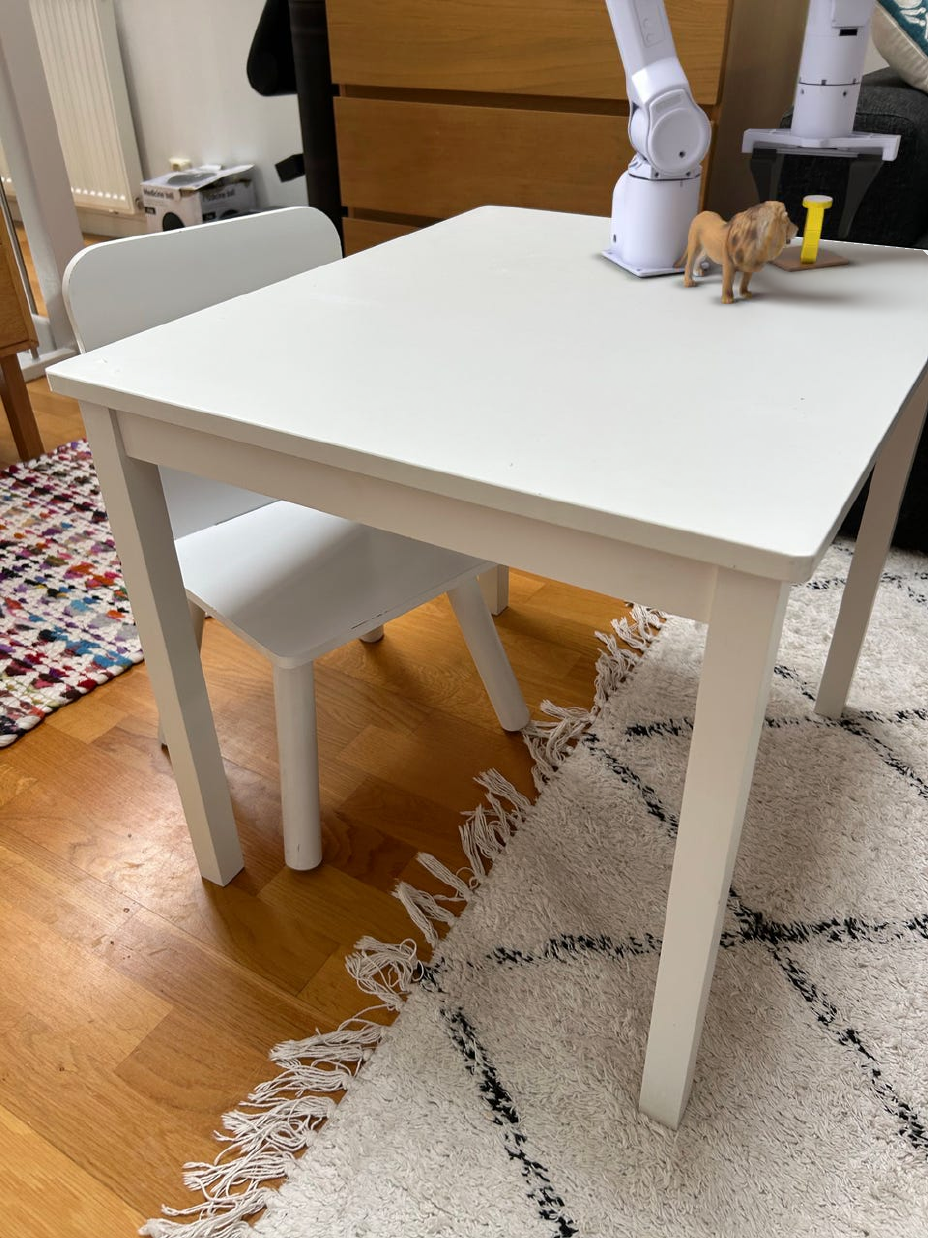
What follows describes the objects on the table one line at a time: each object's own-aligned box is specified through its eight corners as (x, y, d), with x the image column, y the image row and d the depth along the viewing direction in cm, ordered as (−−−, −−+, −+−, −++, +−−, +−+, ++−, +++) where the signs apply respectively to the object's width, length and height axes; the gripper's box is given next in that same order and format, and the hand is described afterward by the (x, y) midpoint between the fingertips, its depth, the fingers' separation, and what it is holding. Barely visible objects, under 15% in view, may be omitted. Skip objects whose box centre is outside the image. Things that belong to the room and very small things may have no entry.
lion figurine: (794, 305, 89) (812, 201, 83) (752, 315, 86) (767, 209, 81) (687, 269, 99) (696, 175, 94) (646, 278, 97) (654, 182, 92)
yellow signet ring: (794, 250, 102) (803, 190, 98) (821, 252, 101) (832, 191, 98) (793, 266, 97) (803, 203, 94) (821, 267, 96) (833, 204, 93)
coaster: (752, 254, 102) (752, 251, 102) (809, 247, 104) (810, 244, 104) (789, 271, 97) (789, 268, 97) (849, 263, 98) (849, 260, 98)
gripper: (742, 84, 91) (723, 234, 99) (904, 89, 85) (871, 248, 93) (760, 76, 96) (741, 219, 104) (915, 79, 90) (883, 231, 98)
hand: (804, 232), depth 99 cm, fingers open, 7 cm apart
